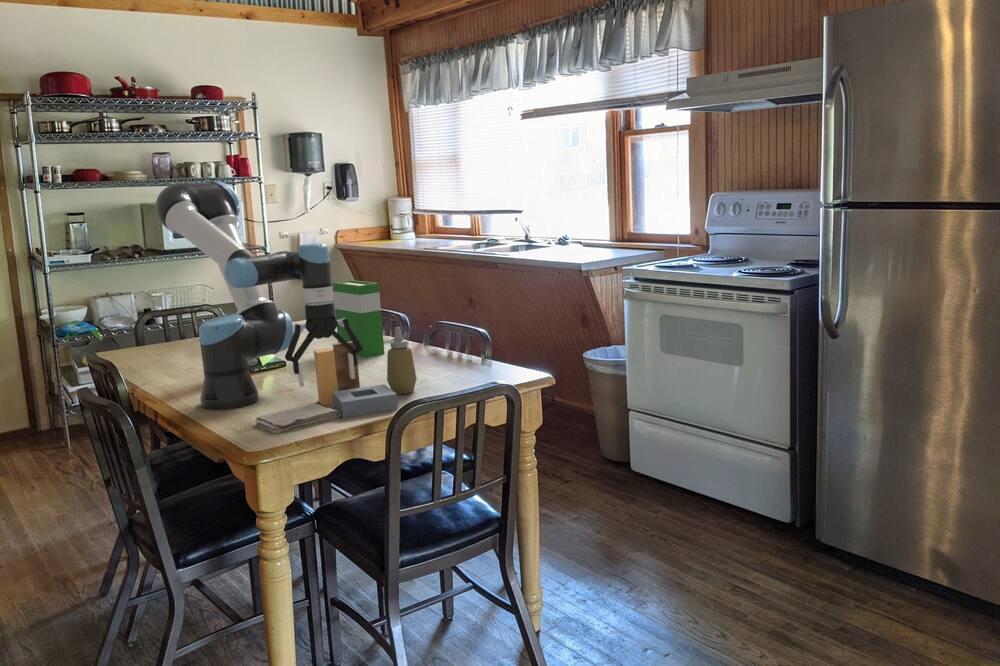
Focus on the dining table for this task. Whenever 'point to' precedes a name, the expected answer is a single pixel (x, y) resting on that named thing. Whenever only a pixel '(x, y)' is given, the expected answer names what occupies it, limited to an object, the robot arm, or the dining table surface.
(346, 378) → the brown wooden block
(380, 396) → the socket block
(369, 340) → the green cereal box
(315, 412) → the washcloth
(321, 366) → the square peg
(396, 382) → the squeeze bottle
